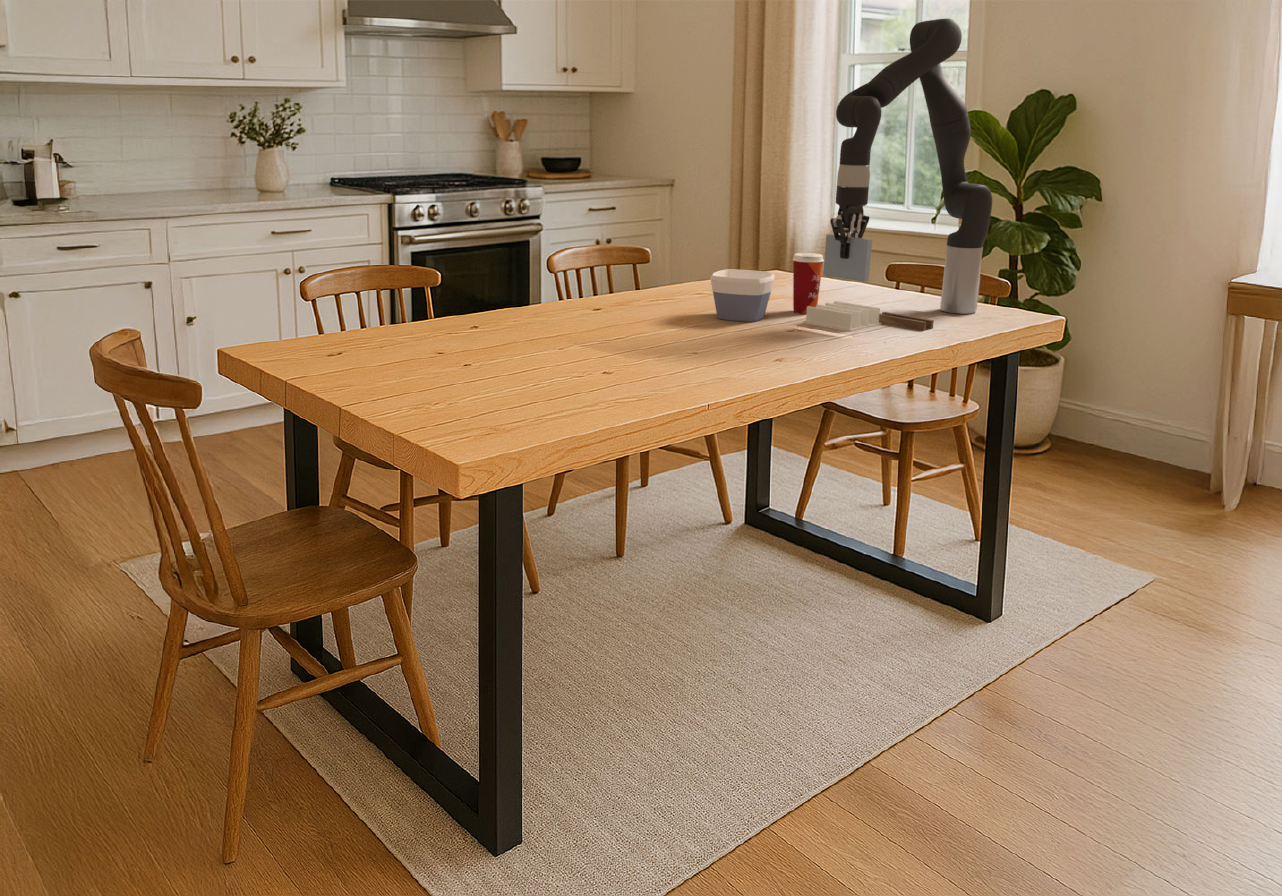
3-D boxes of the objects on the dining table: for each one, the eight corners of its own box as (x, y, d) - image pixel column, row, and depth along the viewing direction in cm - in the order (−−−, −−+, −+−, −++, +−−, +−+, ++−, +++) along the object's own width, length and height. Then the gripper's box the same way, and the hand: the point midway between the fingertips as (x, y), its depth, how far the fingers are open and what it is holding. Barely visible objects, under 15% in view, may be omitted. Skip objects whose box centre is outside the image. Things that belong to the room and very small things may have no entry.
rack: (833, 319, 277) (835, 300, 275) (880, 327, 268) (882, 308, 266) (803, 325, 268) (804, 306, 267) (850, 334, 259) (852, 314, 257)
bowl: (702, 320, 273) (704, 275, 270) (721, 310, 287) (723, 267, 283) (761, 325, 268) (763, 280, 264) (778, 315, 281) (780, 272, 278)
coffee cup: (819, 315, 281) (823, 257, 277) (787, 313, 283) (791, 256, 278) (821, 309, 289) (825, 253, 284) (790, 308, 291) (793, 251, 286)
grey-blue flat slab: (827, 274, 269) (830, 234, 266) (868, 281, 261) (872, 239, 258) (823, 275, 268) (826, 234, 265) (864, 282, 260) (867, 239, 257)
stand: (883, 322, 274) (884, 311, 273) (933, 331, 264) (934, 320, 263) (872, 325, 270) (873, 314, 269) (922, 334, 261) (923, 322, 260)
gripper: (856, 182, 265) (850, 254, 270) (822, 184, 255) (817, 258, 261) (882, 184, 260) (876, 257, 265) (849, 186, 250) (843, 262, 256)
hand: (847, 257), depth 263 cm, fingers closed on grey-blue flat slab, 1 cm apart
